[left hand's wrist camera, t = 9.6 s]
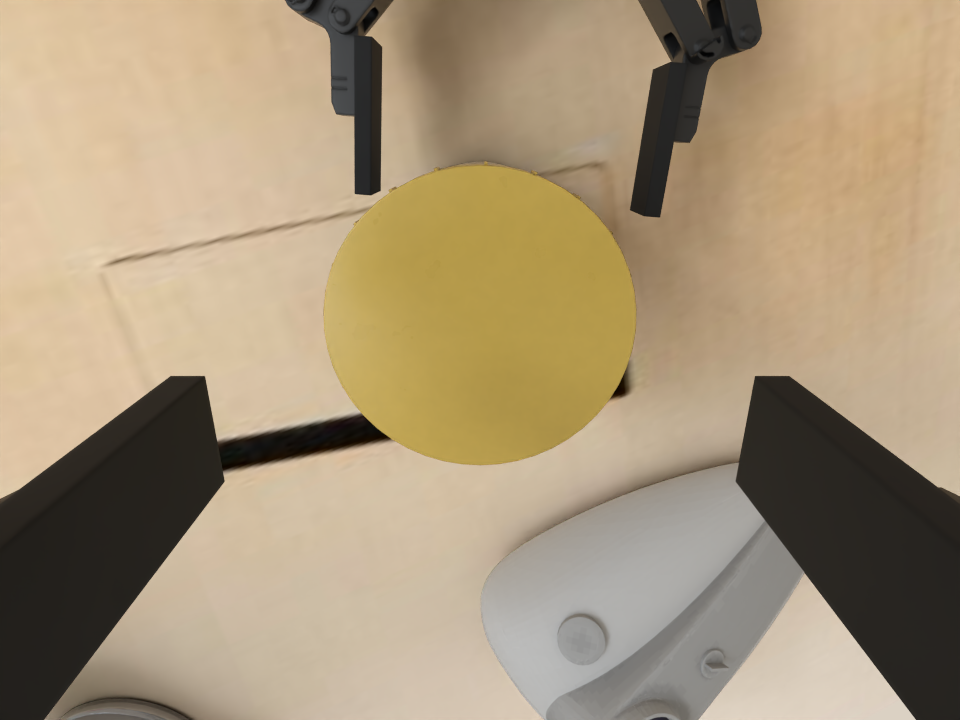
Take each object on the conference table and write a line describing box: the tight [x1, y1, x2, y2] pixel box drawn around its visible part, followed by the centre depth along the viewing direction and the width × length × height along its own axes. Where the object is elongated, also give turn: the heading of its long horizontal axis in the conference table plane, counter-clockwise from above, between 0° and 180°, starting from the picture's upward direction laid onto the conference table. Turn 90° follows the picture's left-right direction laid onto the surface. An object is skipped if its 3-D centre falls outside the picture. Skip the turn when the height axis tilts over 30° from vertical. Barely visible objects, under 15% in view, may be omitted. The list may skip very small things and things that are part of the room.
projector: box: [481, 462, 804, 720], centre depth 37 cm, size 22×23×15 cm
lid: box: [324, 161, 636, 465], centre depth 21 cm, size 11×11×2 cm
